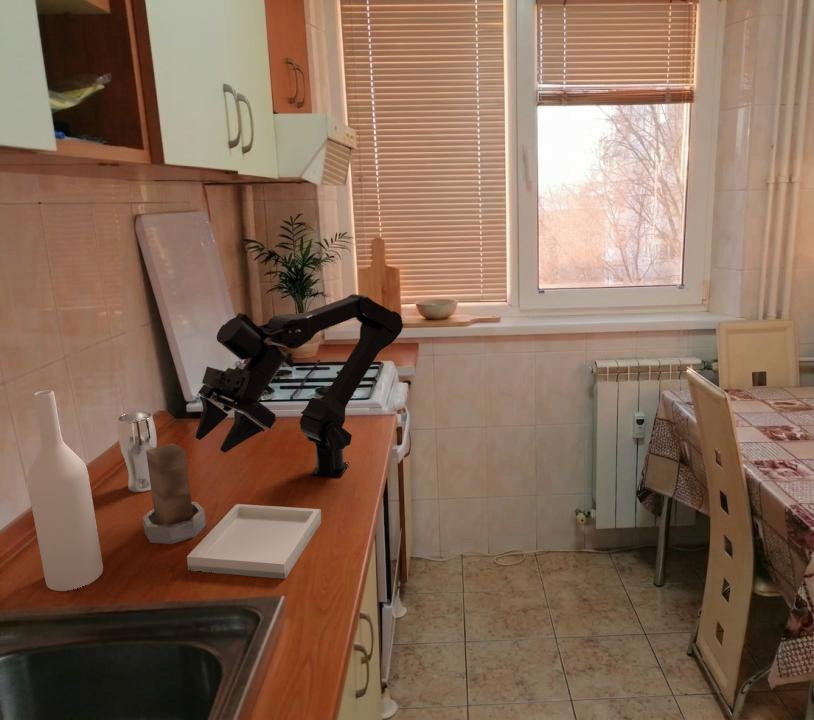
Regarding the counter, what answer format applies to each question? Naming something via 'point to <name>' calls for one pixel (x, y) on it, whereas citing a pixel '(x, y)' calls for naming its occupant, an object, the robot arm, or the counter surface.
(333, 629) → the counter surface
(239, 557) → the tray
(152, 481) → the walnut block
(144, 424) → the beer glass
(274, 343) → the robot arm
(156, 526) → the grey octagonal ring
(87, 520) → the bottle
